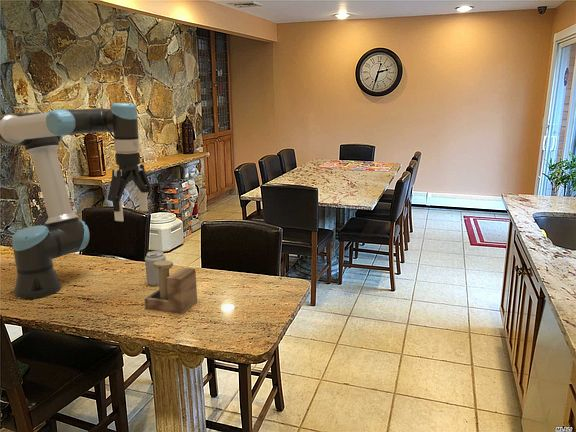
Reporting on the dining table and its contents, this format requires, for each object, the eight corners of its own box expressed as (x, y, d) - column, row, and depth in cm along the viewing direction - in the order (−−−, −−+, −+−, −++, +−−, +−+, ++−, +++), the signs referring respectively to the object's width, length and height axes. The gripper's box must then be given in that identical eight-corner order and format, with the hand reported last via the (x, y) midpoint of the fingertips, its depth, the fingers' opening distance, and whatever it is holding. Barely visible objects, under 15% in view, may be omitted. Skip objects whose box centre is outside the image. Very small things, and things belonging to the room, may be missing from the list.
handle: (171, 308, 157) (168, 266, 153) (154, 306, 158) (150, 264, 155) (178, 302, 161) (175, 261, 158) (161, 300, 163) (158, 259, 159)
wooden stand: (145, 308, 157) (142, 275, 154) (162, 296, 166) (159, 264, 163) (182, 313, 152) (180, 279, 150) (197, 301, 162) (195, 268, 159)
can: (142, 285, 177) (140, 254, 174) (155, 278, 183) (152, 249, 181) (159, 287, 174) (156, 257, 171) (171, 280, 181) (169, 251, 178)
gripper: (112, 157, 139) (118, 226, 144) (158, 148, 162) (162, 208, 167) (91, 156, 141) (97, 224, 146) (140, 147, 164) (144, 206, 169)
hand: (132, 215), depth 157 cm, fingers open, 13 cm apart
